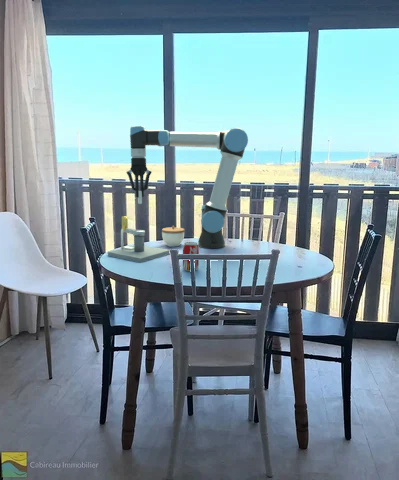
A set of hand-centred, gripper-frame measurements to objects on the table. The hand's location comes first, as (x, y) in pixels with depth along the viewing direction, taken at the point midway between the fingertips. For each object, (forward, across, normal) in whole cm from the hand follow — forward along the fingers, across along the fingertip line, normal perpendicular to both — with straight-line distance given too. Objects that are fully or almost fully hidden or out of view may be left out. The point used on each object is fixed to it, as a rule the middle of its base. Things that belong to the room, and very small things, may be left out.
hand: (140, 203), depth 214 cm
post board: (+25, -4, -11) cm, 27 cm away
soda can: (+25, +12, -45) cm, 53 cm away
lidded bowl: (+25, +20, +7) cm, 33 cm away
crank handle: (+14, -6, -7) cm, 17 cm away
